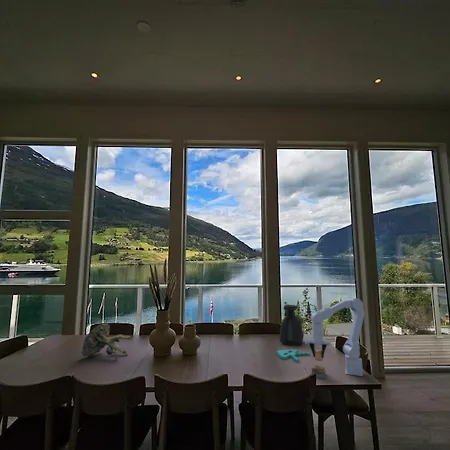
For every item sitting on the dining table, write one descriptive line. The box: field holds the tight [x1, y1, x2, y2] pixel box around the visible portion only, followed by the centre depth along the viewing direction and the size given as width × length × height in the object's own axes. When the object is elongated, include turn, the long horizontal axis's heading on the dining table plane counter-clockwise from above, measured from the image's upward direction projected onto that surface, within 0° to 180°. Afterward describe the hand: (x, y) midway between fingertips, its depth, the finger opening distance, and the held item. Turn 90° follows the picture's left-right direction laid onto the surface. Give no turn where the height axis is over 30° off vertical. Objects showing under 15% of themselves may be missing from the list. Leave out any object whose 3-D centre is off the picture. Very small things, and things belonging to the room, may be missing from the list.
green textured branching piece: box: [81, 322, 132, 361], centre depth 210 cm, size 23×26×35 cm
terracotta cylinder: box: [314, 349, 324, 362], centre depth 174 cm, size 4×4×5 cm
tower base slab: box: [309, 368, 327, 379], centre depth 171 cm, size 8×8×2 cm
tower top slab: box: [311, 364, 326, 374], centre depth 171 cm, size 6×6×2 cm
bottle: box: [278, 304, 304, 346], centre depth 244 cm, size 18×16×30 cm
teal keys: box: [275, 349, 311, 363], centre depth 207 cm, size 20×2×20 cm
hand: (318, 357), depth 174 cm, fingers closed on terracotta cylinder, 4 cm apart
